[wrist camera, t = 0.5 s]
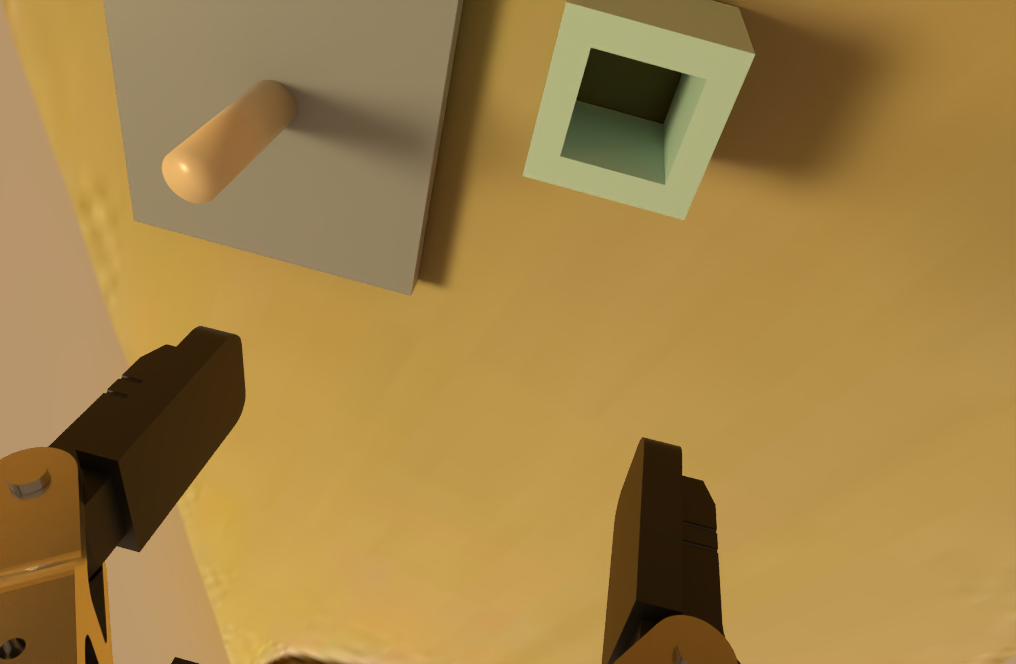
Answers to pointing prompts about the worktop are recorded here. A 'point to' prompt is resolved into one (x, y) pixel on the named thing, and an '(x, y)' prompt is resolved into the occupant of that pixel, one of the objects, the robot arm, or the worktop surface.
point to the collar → (632, 140)
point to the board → (330, 147)
